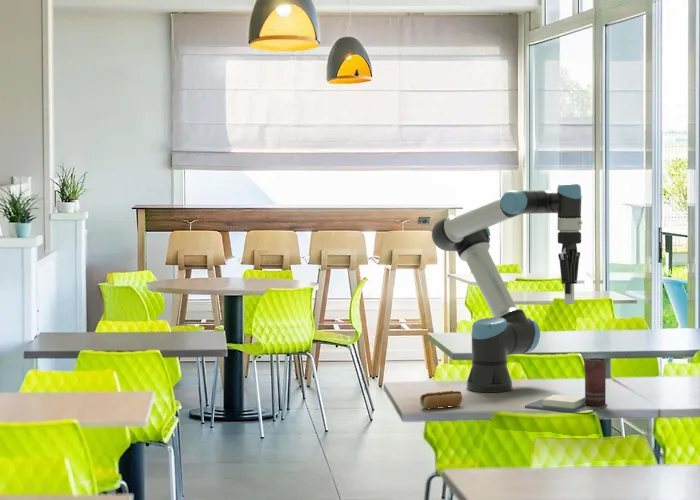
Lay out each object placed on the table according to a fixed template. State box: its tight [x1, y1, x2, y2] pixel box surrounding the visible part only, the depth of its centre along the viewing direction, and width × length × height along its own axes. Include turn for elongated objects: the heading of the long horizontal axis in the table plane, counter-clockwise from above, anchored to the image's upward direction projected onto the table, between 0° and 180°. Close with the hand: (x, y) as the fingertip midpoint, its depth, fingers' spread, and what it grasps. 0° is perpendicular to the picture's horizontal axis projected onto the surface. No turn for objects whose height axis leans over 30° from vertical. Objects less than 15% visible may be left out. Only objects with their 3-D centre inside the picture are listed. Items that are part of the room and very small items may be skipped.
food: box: [419, 390, 463, 409], centre depth 327 cm, size 14×6×5 cm, turn 116°
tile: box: [542, 394, 585, 410], centre depth 325 cm, size 10×2×9 cm
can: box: [583, 358, 607, 407], centre depth 325 cm, size 6×6×14 cm
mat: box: [524, 397, 608, 413], centre depth 327 cm, size 20×16×1 cm
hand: (569, 303), depth 348 cm, fingers closed
